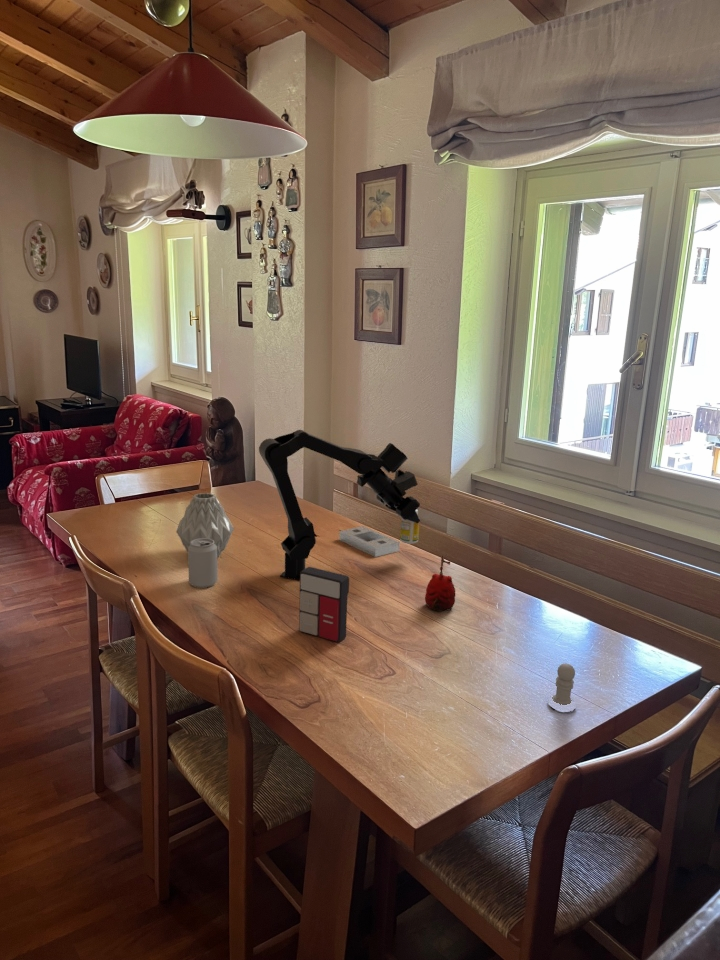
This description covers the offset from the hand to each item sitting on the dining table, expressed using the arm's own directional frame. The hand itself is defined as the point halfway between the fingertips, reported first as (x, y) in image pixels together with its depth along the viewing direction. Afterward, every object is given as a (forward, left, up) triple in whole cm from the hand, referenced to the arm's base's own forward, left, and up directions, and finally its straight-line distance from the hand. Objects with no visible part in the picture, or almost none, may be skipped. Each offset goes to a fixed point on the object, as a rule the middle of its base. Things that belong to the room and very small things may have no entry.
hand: (414, 519), depth 207 cm
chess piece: (-63, -46, -13) cm, 79 cm away
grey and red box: (-53, +8, -13) cm, 55 cm away
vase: (-20, +58, -13) cm, 63 cm away
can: (-38, +48, -13) cm, 63 cm away
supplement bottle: (-1, +1, -7) cm, 7 cm away
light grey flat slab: (+8, +16, -13) cm, 22 cm away
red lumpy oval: (-28, -14, -13) cm, 34 cm away
